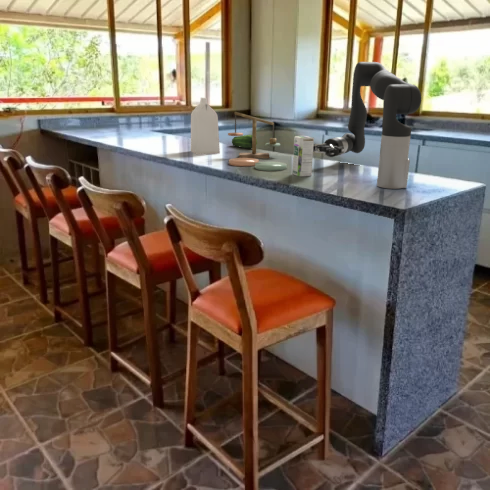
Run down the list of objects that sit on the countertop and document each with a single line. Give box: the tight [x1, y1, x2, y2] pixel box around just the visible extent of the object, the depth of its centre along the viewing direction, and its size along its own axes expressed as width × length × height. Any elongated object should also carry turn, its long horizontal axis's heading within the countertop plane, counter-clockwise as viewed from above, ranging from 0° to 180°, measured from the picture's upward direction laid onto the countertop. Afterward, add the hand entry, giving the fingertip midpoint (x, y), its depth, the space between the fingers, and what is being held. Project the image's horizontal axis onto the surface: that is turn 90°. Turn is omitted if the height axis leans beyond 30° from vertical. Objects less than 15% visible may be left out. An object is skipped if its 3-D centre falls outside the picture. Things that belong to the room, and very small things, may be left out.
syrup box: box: [292, 135, 315, 177], centre depth 180 cm, size 6×6×14 cm
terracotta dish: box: [228, 157, 260, 167], centre depth 205 cm, size 13×13×2 cm
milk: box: [190, 97, 221, 155], centre depth 233 cm, size 12×12×26 cm
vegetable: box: [231, 134, 258, 150], centre depth 254 cm, size 7×7×20 cm
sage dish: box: [254, 161, 288, 172], centre depth 196 cm, size 13×13×2 cm
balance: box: [227, 111, 281, 159], centre depth 220 cm, size 24×7×20 cm, turn 91°
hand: (316, 151), depth 188 cm, fingers open, 8 cm apart
